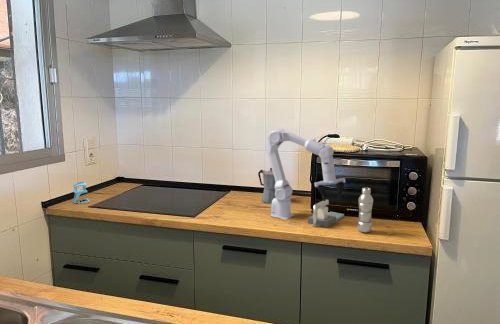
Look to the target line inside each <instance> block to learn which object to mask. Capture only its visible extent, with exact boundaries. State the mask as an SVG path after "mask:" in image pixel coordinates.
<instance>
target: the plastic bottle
mask: <svg viewBox="0 0 500 324" xmlns="http://www.w3.org/2000/svg"><path fill="white" fill-rule="evenodd" d="M371 192H372V191H371V187H362V188H361V194H360V196H359V197H358V219H357V223H356V227H357V228H356V229H357V231H359V232H361V233H370V232H371V231H372V229H373V224H372V209H373V204H374V198H373V196H372V195H371Z"/></svg>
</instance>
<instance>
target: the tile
mask: <svg viewBox="0 0 500 324" xmlns="http://www.w3.org/2000/svg"><path fill="white" fill-rule="evenodd" d="M328 215H331V216H336V222H338V221H339V220H341V219H342V218H344V217H345V213H340V212H335V211H330V212H328Z"/></svg>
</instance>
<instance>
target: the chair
mask: <svg viewBox="0 0 500 324" xmlns="http://www.w3.org/2000/svg"><path fill="white" fill-rule="evenodd" d="M72 186H73V188H74V189H72V190H73V193H74V195H73V196H74V197H73V201H72V203H73V202H74V203H82V204H88V203H87V202H90V203H91V201H90V200H89V198H83V199H79V197H80V196H81V195H82V194H85V193H88V190H87V189H86V188H87V183H86V182H85V181H79V182H77V183H75V184H72ZM79 187H82V188H81V189H78V188H79ZM83 200H85V201H83ZM78 201H81V202H78ZM74 203H73V204H74Z"/></svg>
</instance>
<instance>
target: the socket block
mask: <svg viewBox="0 0 500 324" xmlns="http://www.w3.org/2000/svg"><path fill="white" fill-rule="evenodd" d="M335 223H337V221H336V216H331V215H328V218H327V219H325V220H323V219H319V218H317V227H323V228H329V227H330V226H332V225H333V224H335ZM307 224H309V225H312V226H313V214H312V215H310V216H308V217H307Z"/></svg>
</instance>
